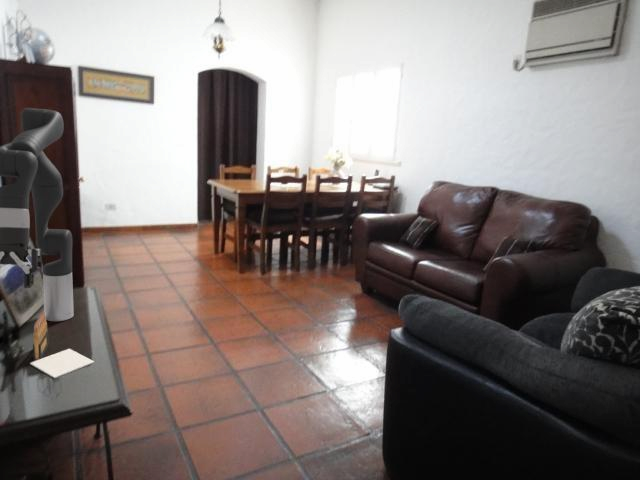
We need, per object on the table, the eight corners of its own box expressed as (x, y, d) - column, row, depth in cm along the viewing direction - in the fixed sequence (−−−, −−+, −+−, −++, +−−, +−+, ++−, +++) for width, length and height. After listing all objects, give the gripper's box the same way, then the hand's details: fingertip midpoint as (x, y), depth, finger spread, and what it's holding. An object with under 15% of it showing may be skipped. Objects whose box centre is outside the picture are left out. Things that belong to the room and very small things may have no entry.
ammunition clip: (40, 360, 134) (38, 323, 132) (33, 360, 134) (31, 323, 131) (48, 344, 144) (47, 309, 142) (42, 344, 144) (40, 310, 141)
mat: (29, 364, 132) (29, 362, 132) (69, 349, 142) (69, 348, 142) (54, 378, 126) (54, 377, 125) (94, 362, 136) (94, 361, 136)
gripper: (48, 227, 120) (47, 286, 121) (-6, 225, 120) (-8, 285, 120) (31, 226, 113) (30, 289, 113) (-26, 225, 112) (-28, 288, 112)
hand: (11, 287), depth 116 cm, fingers open, 8 cm apart
